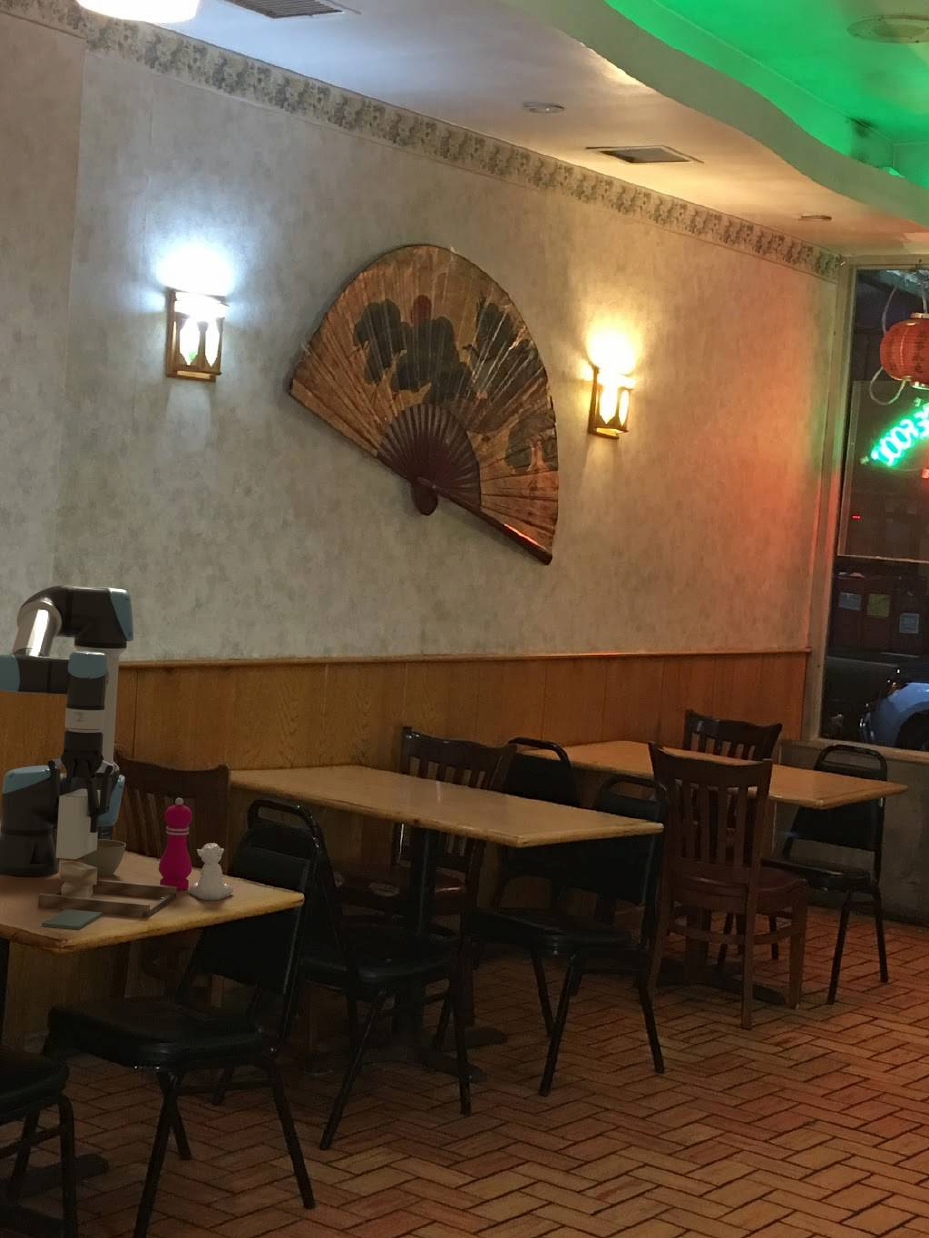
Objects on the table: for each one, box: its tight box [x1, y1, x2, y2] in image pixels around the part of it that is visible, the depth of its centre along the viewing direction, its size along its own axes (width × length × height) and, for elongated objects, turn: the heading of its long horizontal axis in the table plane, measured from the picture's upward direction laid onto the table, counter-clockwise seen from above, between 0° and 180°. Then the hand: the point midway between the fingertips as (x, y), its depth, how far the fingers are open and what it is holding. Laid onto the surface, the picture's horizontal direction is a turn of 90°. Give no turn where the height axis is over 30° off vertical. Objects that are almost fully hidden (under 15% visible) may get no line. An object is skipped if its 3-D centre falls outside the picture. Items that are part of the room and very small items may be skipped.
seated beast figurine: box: [189, 842, 234, 901], centre depth 358 cm, size 10×9×12 cm
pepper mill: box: [158, 797, 193, 891], centre depth 365 cm, size 7×7×20 cm
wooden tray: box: [37, 878, 178, 918], centre depth 346 cm, size 23×20×2 cm
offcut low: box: [60, 881, 94, 898], centre depth 347 cm, size 5×10×4 cm, turn 4°
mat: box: [41, 909, 104, 930], centre depth 328 cm, size 8×14×1 cm, turn 173°
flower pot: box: [82, 839, 127, 878], centre depth 374 cm, size 10×10×7 cm
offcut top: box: [59, 860, 98, 886], centre depth 347 cm, size 4×8×4 cm, turn 44°
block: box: [56, 789, 100, 860], centre depth 327 cm, size 4×12×12 cm, turn 173°
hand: (77, 847), depth 327 cm, fingers closed on block, 4 cm apart
